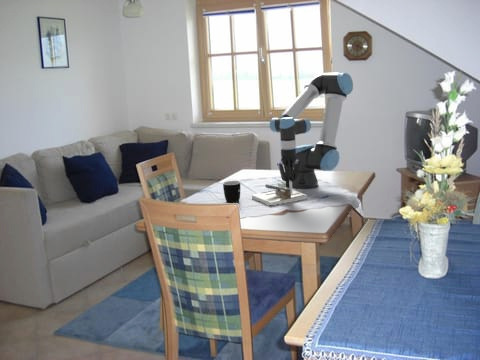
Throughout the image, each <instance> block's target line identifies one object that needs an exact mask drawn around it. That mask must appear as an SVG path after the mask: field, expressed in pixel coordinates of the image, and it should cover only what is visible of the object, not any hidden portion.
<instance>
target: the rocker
mask: <svg viewBox="0 0 480 360" xmlns="http://www.w3.org/2000/svg"><path fill="white" fill-rule="evenodd" d="M265 188H266V189H270V190H282V189H283V187H278V185H277V186H276V185H273V184H270V183H266V184H265ZM284 188H285V189H287V188H286V187H284Z"/></svg>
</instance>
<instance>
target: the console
mask: <svg viewBox="0 0 480 360" xmlns="http://www.w3.org/2000/svg"><path fill="white" fill-rule="evenodd" d="M292 192H293V194H291V198H286V199H283V198H280V190H275V189H271V190H269V191H268V190H267V191H261V192H260V193H254V194H252V195H251V199H252V200H254V201H256V202H259V201H260V203H262V202H263V203H262V204H264V203H265V204H264V205H266V204H268V205H267V206H269V205H275V206H277V205H276V204H279V205H282V203H284V204H288V203H287V202H289V203H293V201H294V202H297V201H298V200H299V201H303V200H307V199H308V194H305V193H302V192H299V191H296V190H294V189H292ZM299 201H298V202H299Z"/></svg>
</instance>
